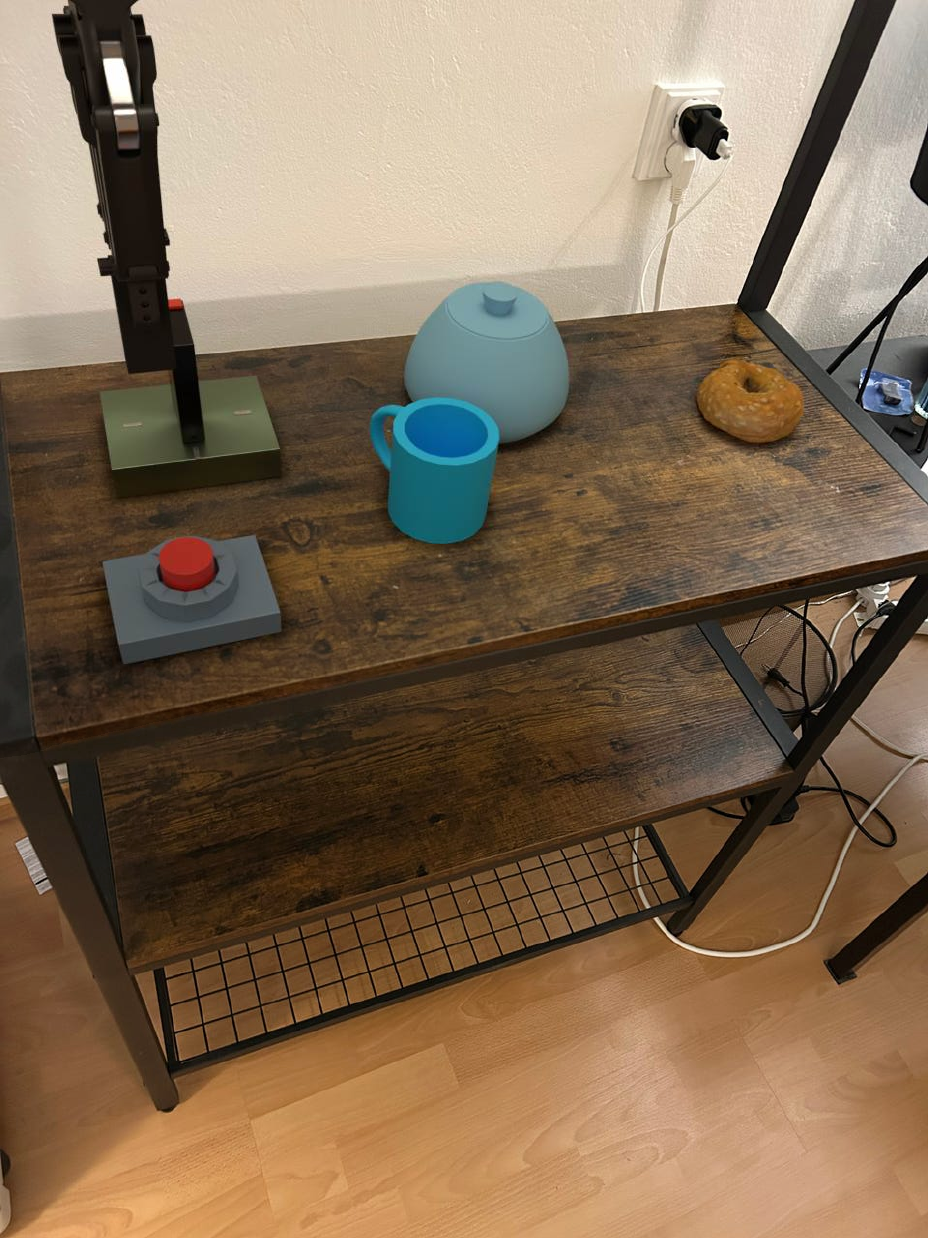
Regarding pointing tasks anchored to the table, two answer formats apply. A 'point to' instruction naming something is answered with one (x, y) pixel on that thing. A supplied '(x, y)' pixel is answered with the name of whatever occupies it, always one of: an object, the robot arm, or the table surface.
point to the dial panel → (163, 463)
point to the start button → (187, 564)
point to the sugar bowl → (492, 357)
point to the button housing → (191, 602)
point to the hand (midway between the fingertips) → (150, 363)
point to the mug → (437, 467)
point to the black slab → (185, 377)
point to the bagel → (750, 401)
